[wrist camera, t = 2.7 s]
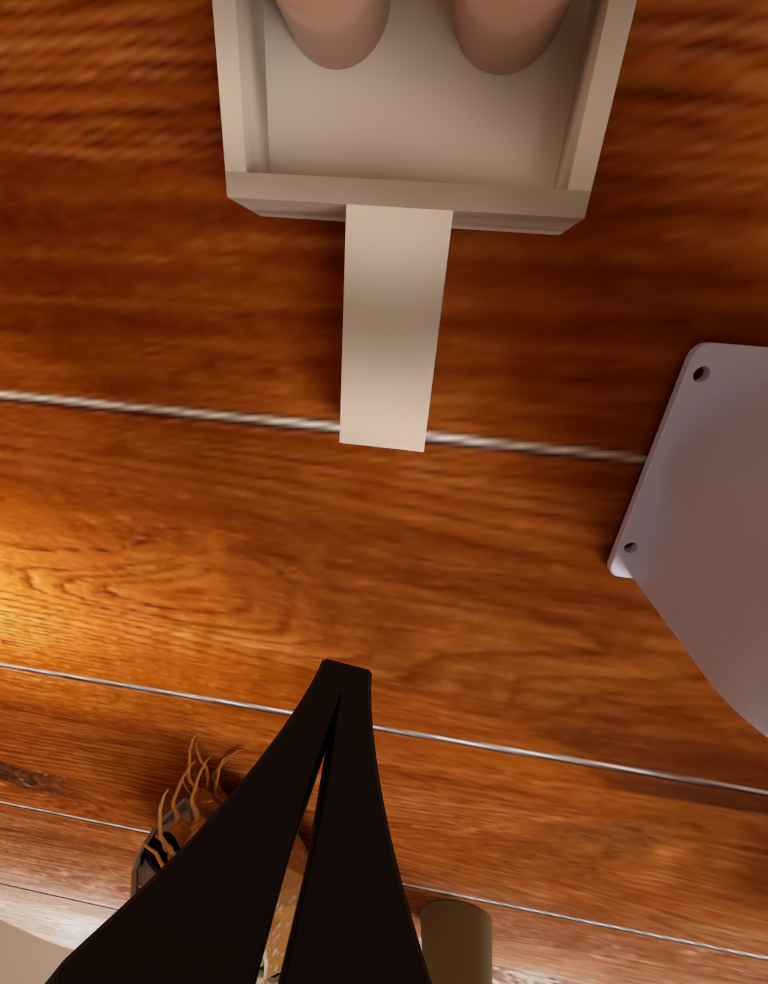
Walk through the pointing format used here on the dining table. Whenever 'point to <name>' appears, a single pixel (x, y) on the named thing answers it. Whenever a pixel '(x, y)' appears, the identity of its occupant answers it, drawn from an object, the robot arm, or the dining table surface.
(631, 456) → the dining table surface
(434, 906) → the pepper mill
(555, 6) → the tan rounded capsule
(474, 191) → the drawer with block handle
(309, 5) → the tan rounded block
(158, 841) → the nautilus
